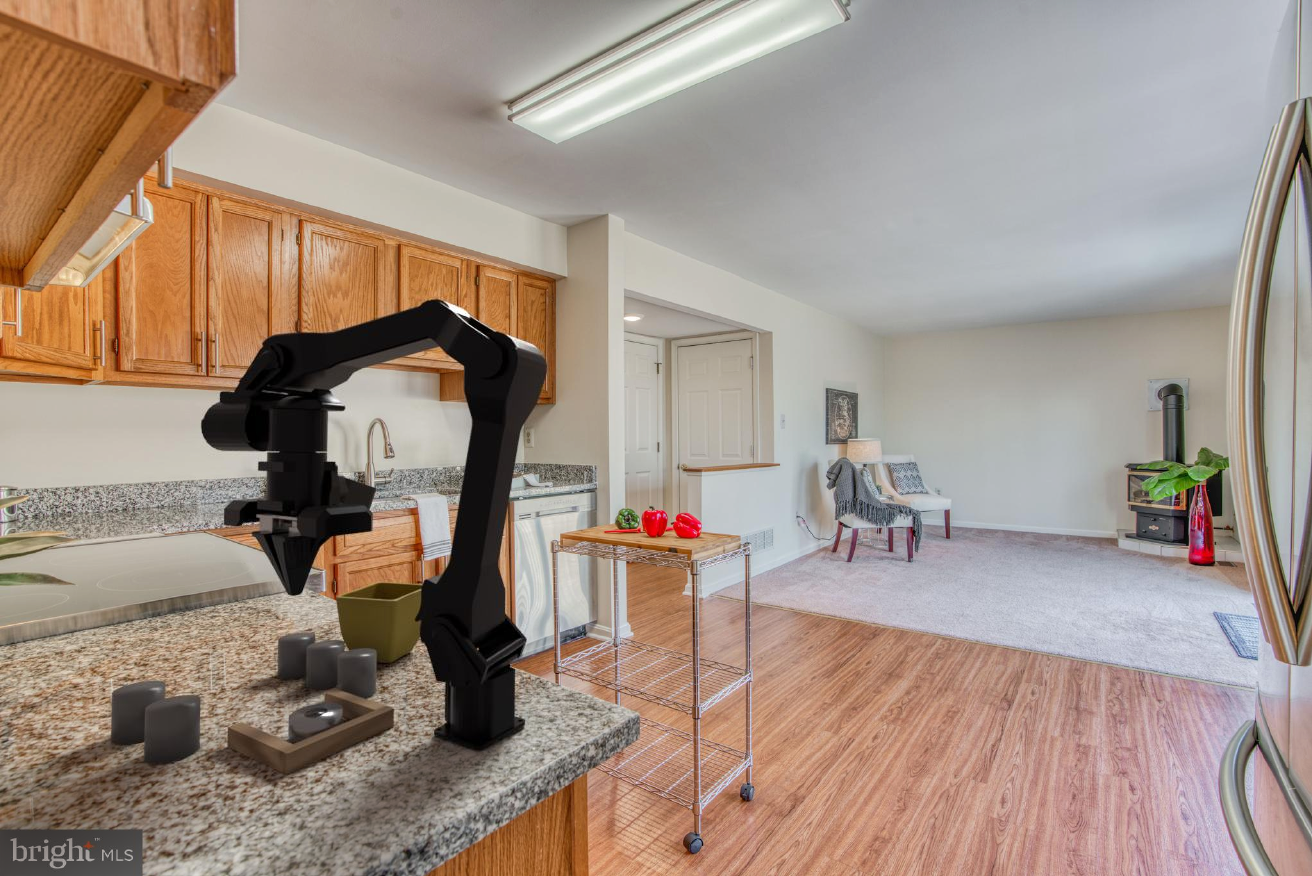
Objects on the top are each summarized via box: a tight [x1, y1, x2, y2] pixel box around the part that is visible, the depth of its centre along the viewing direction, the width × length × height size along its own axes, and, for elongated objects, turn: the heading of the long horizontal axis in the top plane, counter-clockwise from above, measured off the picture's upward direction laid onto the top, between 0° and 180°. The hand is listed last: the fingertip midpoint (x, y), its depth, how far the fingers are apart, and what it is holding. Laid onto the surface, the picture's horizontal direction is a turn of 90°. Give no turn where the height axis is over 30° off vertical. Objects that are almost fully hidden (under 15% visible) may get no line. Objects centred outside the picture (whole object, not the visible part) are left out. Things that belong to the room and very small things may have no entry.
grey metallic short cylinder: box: [287, 702, 344, 744], centre depth 59 cm, size 5×5×3 cm
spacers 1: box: [110, 680, 202, 765], centre depth 58 cm, size 11×4×4 cm, turn 60°
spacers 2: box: [277, 631, 377, 699], centre depth 73 cm, size 16×4×4 cm, turn 60°
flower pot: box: [335, 581, 423, 664], centre depth 82 cm, size 9×9×9 cm
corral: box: [227, 688, 395, 776], centre depth 59 cm, size 10×11×2 cm
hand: (294, 594), depth 66 cm, fingers closed
